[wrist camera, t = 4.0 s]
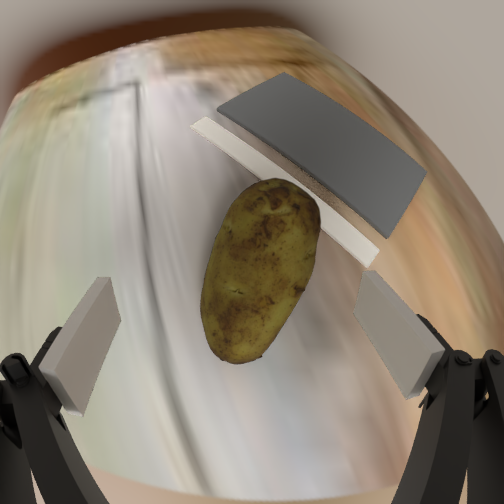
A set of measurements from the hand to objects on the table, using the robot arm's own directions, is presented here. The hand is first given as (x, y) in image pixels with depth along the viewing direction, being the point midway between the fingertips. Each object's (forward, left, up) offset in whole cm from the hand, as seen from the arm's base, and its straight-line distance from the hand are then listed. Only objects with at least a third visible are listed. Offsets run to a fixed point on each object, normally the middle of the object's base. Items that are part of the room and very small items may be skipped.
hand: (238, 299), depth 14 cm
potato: (+1, -3, -9) cm, 10 cm away
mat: (+6, -22, -9) cm, 25 cm away
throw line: (+6, -13, -9) cm, 17 cm away
